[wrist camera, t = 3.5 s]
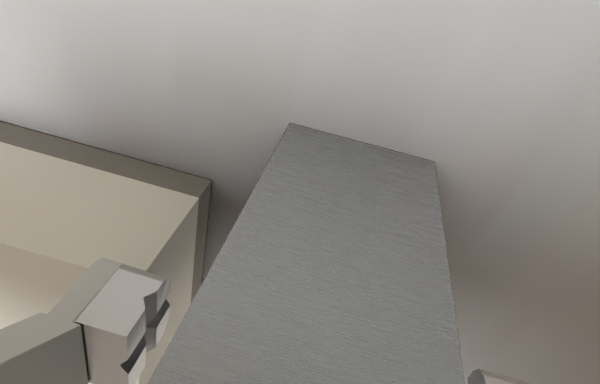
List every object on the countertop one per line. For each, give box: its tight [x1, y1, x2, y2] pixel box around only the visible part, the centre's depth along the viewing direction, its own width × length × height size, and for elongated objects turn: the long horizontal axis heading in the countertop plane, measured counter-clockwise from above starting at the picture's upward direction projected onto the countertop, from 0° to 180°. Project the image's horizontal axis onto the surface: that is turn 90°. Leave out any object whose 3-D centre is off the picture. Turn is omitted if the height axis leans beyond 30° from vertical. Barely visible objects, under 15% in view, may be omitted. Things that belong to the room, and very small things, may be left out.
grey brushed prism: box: [147, 123, 465, 384], centre depth 9 cm, size 4×5×10 cm
